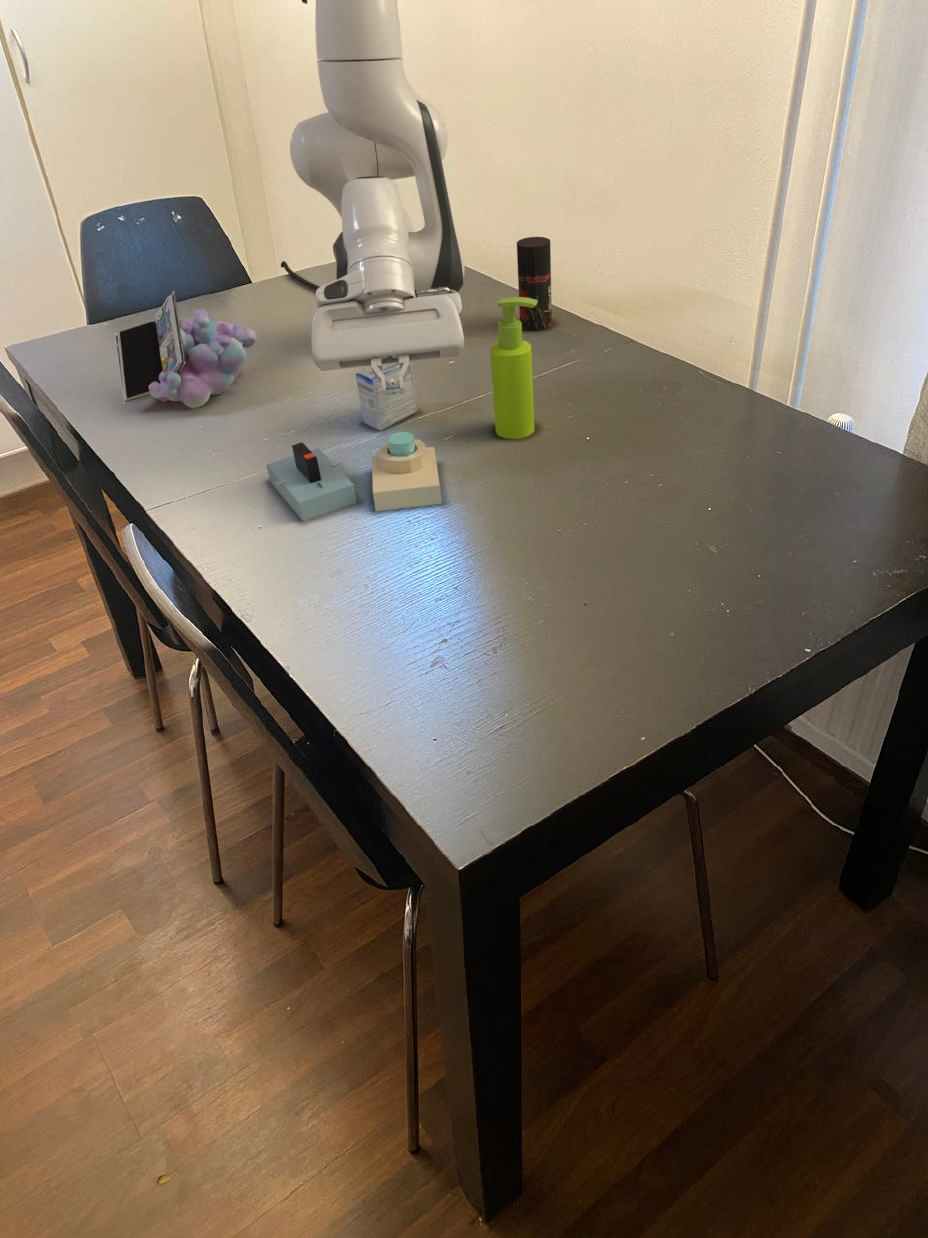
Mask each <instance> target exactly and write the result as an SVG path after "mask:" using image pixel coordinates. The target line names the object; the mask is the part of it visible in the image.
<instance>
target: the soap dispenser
mask: <svg viewBox="0 0 928 1238" xmlns="http://www.w3.org/2000/svg"><path fill="white" fill-rule="evenodd" d="M537 302H538V300H535V299H531V298H526V297H519V296H511V297H501V298H499V300H498V302H497V308H502V320H500V321H499V322H498V323H497V336H498V337H497V338H498V341H497V342H496V343H494V344H493V345H491V346H490V349H489V350H490V351H489V352H490V365H491V379H492V394H493V395H492V396H493V408H494V409H493V411H494V426H495V433H496V435H497V436H499V437H501V438H503V439H507V440H518V439H519V440H520V439H524V438H526V437H527V438H528V437H529V436H531V435H532V434H533V433H534V431H535V408H534V406H535V405H534V382H533V379H534V378H533V357H532V356H533V355H532V353H533V352H532V344H531V343H530V342H529V341H526V340H523V329H522V323H521V321H520V319H517V318H516V307H519V306H525V307H531V308H534V307H535V306H536V304H537Z"/></svg>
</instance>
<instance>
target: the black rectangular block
mask: <svg viewBox="0 0 928 1238" xmlns="http://www.w3.org/2000/svg"><path fill="white" fill-rule="evenodd" d="M291 449H292V452H293V456H294V458H295V463H296V467H297V468H298V470H299V471H300V472H301V473H302V474H303V475H304V476H305V477H306V478H307V480H308V481H309V482H310V483H313V482H316V481H319V480H321V475H320V471H319V466H318V461H317V457H316V456H315V455H314V454H313V453H312V452H311V451H310V450H311V449H309V447H308V446H306V444H304V442H302V441H301V442H298V443H295V444H292V445H291Z"/></svg>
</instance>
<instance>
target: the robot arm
mask: <svg viewBox="0 0 928 1238" xmlns="http://www.w3.org/2000/svg"><path fill="white" fill-rule="evenodd" d="M301 2H302V4H305V5H308V0H301ZM398 10H399V9H398V0H315V12H314V13H315V15H314V16H315V17H314V18H315V24H314V25H315V27H314V29H315V49H316V64H317V73H318V79H319V80H318V81H319V85H320V91H321V96H322V100H323V104H324V106H325V108H326V110H327V111H328V112H323V113H320V114H317V115H314V116H311V117H309V118H307V119H304V120H303V121H302V120H301V121H300V122H298V123H297V124H296V125H295V127H294V129H293V131H292V133H291V137H290V140H289V141H290V142H289V155H290V156H289V157H290V161H291V165H292V167H293V169H294V171H295V173H296V174H297V176H298V178H300V179H301V181H302V182H303V183H304V184H306V186H308V187H310V188H311V189H313V190H315V191H317V192H318V193H319V194H321V195H322V196H323V197H324V198H326V200H327V201H329V202H330V204H331V205H332V206H333V207H334V209H335V210H336V212H337V213H338V215H339V216H340V219H341V228H342V229H341V230H342V231H341V232H340V233H339V235H338V236H337V238H336V239H335V241H334V243H333V244H332V253H333V256H334V259H335V264H336V279H335V280H333V281H330V282H329V283H326V284H324V285H321V286H320V285H318V284H315V283H313V282H312V281H309V280H306V279H305V278H303V277H301V276H300V275H298V274H297V273H295V272H294V271H293V270H292V269H291V268H290V266H289V265H288V263H287V262H286V261H285V260H283V261H281V263H280V268H284V270H285V272H287V274H289V276H291V277H292V278H293V279H294V280H296V281H297V282H299V283H300V284H302V285H303V286H306V287H309V288H310V289H313V290H314V291H315V300H316V302H315V303H316V306H317V309H316V310H315V312H314V313H313V315H312V320H311V330H310V331H311V332H310V333H311V334H310V335H311V336H310V340H311V342H310V343H311V356H312V360H313V363H314V365H315V366H316V367H317V368H318V369H319V370H321V371H322V372H324V371H334V370H343V369H351V368H352V369H353V368H362V367H370V366H371V368H372V372H373V374H374V375H375V376H376V378H377V379H378V380H379V381H380V383H382V391H383V395H391V394H398V393H405V389H404V381H405V379H406V376H407V374H408V372H409V370H410V363H411V362H413V361H414V362H415V361H424V360H434V359H441V358H451V357H459V356H460V355H461V354H462V352H463V351H464V349H465V336H464V331H463V326H462V321H461V318H460V316H461V315H462V313H463V301H462V297H461V295H460V293H459V291H460V290H461V289H462V288H463V286H464V280H465V271H466V270H465V260H464V256H463V252H462V250H461V246H460V243H459V240H458V237H457V232H456V228H455V223H454V218H453V214H452V209H451V208H452V207H451V202H450V197H449V191H448V187H447V181H446V177H445V171H444V167H443V161H444V159H445V157H446V154H447V150H448V143H449V135H448V129H447V126H446V122H445V120H444V118H443V117H442V114H441V113H440V112H439V111H438V109H437V108H436V107H435V106H434V105H433V104H431V103H429V102H428V101H426V100H425V99H423V97H421V96H420V95H419V94H417V92H416V91H415V89H414V88H413V87H412V85H411V84H410V82H409V80H408V78H407V76H406V73H405V68H404V67H405V66H404V58H403V42H402V31H401V30H402V29H401V25H400V24H401V23H400V22H401V21H400V17H399V16H400V15H399V11H398ZM413 177H414V178H415V183H416V187H417V193H418V197H419V202H420V207H421V212H422V217H423V223H424V225H423V227H422V229H420V230H417V231H414V227H413V226H414V225H413V221H412V219H411V217H410V215H409V214H408V212H406V210H405V207H404V203H403V200H402V195H401V192H400V189H399V186H398V184H397V183H396V181H395V180H400V179H406V178H407V179H408V178H413ZM398 362H399V366H400V369H401V370H400V373H399V375H398V377H392V378H386V377H385V376H384V375H383V373H382V372H381V371H383V368H382V364H389V363H398Z"/></svg>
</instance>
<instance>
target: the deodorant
mask: <svg viewBox="0 0 928 1238" xmlns="http://www.w3.org/2000/svg"><path fill="white" fill-rule="evenodd" d="M551 253H552V252H551V239H549V238H548V237H545V236H529V237H528V236H527V237H524V238H521V239H519V240H517V241H516V259H517V282H518V283H517V285H518V297H526V298H531V299H535V300H538V302H537V304H536V306H535V307H534V308H531V307H525V306H518V307H519V310H518V311H519V321H521V323H522V330H525V331H532V332H537V331H543V330H547V329H549V328H551V326H552V325H553V312H552V311H553V309H552V308H553V305H552V304H553V303H552V260H551V258H552V255H551Z"/></svg>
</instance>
